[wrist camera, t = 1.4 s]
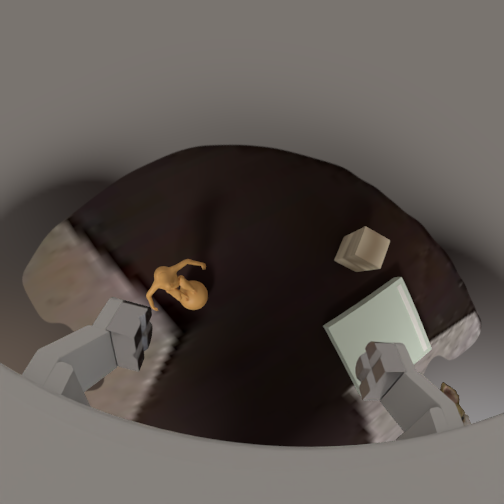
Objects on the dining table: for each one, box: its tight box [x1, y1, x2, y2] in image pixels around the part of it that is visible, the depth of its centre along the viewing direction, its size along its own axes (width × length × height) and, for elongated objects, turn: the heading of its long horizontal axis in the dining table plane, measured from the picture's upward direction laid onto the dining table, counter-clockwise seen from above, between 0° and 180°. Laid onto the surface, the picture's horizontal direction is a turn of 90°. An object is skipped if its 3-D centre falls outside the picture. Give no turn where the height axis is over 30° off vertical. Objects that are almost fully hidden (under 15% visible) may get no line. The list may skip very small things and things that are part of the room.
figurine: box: [146, 259, 208, 311], centre depth 34 cm, size 8×6×12 cm
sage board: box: [323, 277, 432, 401], centre depth 39 cm, size 14×14×3 cm
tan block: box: [334, 226, 390, 272], centre depth 38 cm, size 4×4×8 cm
